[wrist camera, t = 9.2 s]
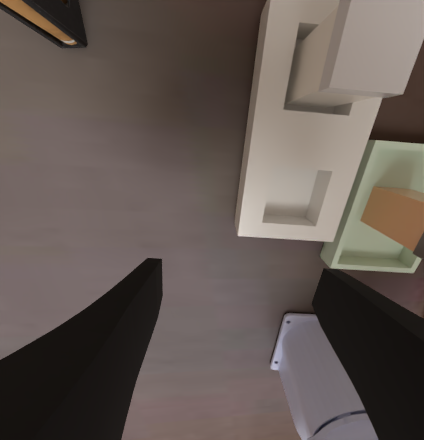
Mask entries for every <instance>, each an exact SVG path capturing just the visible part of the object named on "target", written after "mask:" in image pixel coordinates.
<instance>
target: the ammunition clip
mask: <svg viewBox="0 0 424 440" xmlns="http://www.w3.org/2000/svg"><path fill="white" fill-rule="evenodd" d="M0 9H2V10H3V11H5V12H6V13H8V14H9V15H11V16H13V17H14V18H16V19H17V20H19V21H20V22H22V23H23V24H25V25H26V26H28V27H30V28H31V29H33V30H34V31H36V32H37V33H39V34H40V35H42V36H43V37H45V38H47V39H48V40H50V41H51V42H53V43H54V44H56V45H57V46H59V47H60V48H84V47H86V46H87V45H88V44H87V39H86V34H85V29H84V24H83V20H82V15H81V10H80V5H79V0H0Z"/></svg>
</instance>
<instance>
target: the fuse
mask: <svg viewBox="0 0 424 440" xmlns="http://www.w3.org/2000/svg"><path fill="white" fill-rule="evenodd" d="M423 39H424V0H340V1H339V5H338V6H337V7H336V8H335V9H334V10H333V11H332V12H331V13H330V14H329V15H328V16H327V17H326V18H325V19H324V20H323V21H322V22H321V23H320V24H319V25H318V26H317V27H316V28H315V29H314V30H313V31H312V32H311V33H310V34H309V35H308V36H307V37H306V38H305V39H304V40H303V41H302V42H301V43H300V44H299V45H298V46H297V47H296V48H295V49H294V54H293V59H292V64H291V70H290V75H289V81H288V86H287V91H286V97H285V102H284V104H287V105H299V106H310V107H321V108H329V107H334V106H338V105H343V104H348V103H352V102H357V101H361V100H366V99H370V98H375V97H380V98H388V97H393V96H398V95H403V93H404V90H405V88H406V85H407V82H408V79H409V77H410V74H411V71H412V69H413V66H414V63H415V61H416V58H417V55H418V53H419V50H420V47H421V45H422V42H423Z"/></svg>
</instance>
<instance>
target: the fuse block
mask: <svg viewBox="0 0 424 440" xmlns="http://www.w3.org/2000/svg"><path fill="white" fill-rule="evenodd" d="M339 1H340V0H267V1H266V4H265V6H264V8H263V11H262V13H261V19H260V27H259V34H258V42H257V50H256V58H255V66H254V73H253V81H252V89H251V97H250V104H249V112H248V120H247V128H246V135H245V143H244V151H243V159H242V167H241V174H240V182H239V190H238V198H237V205H236V213H235V221H234V224H235V228H236V232H237V235H238V236H247V237H263V238H279V239H294V240H310V241H325V242H333V241H334V238H335V235H336V232H337V229H338V226H339V223H340V220H341V217H342V214H343V211H344V209H345V206H346V203H347V200H348V197H349V194H350V191H351V188H352V185H353V182H354V179H355V176H356V174H357V171H358V168H359V165H360V162H361V159H362V156H363V153H364V150H365V147H366V144H367V142H368V139H369V136H370V133H371V130H372V127H373V124H374V121H375V118H376V115H377V112H378V110H379V107H380V104H381V101H382V98H380V97H375V98H370V99H366V100H361V101H357V102H352V103H348V104H343V105H338V106H334V107H329V108H321V107H310V106H299V105H287V104H284V102H285V97H286V91H287V86H288V81H289V75H290V70H291V64H292V59H293V54H294V49H295V48H296V47H297V46H298V45H299V44H300V43H301V42H302V41H303V40H304V39H305V38H306V37H307V36H308V35H309V34H310V33H311V32H312V31H313V30H314V29H315V28H316V27H317V26H318V25H319V24H320V23H321V22H322V21H323V20H324V19H325V18H326V17H327V16H328V15H329V14H330V13H331V12H332V11H333V10H334V9H335V8H336V7H337V6H338V5H339Z"/></svg>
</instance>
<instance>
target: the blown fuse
mask: <svg viewBox="0 0 424 440" xmlns="http://www.w3.org/2000/svg"><path fill="white" fill-rule="evenodd" d="M360 221H361V222H363V223H365V224H367V225H368V226H370V227H372V228H373V229H375V230H377V231H379V232H380V233H382V234H384V235H386V236H387V237H389V238H391V239H392V240H394V241H396V242H398V243H399V244H401V245H403V246H405V247H406V248H408V249H410V250H411V251H413V253H412V254H414V255H416V256H417V257H419V258H421V259H423V260H424V193H422V192H419V191H415V190H412V189H404V188H391V187H378V186H373V189H372V191H371V194H370V196H369V199H368V202H367V204H366V207H365V209H364V212H363V215H362V217H361V220H360Z"/></svg>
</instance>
